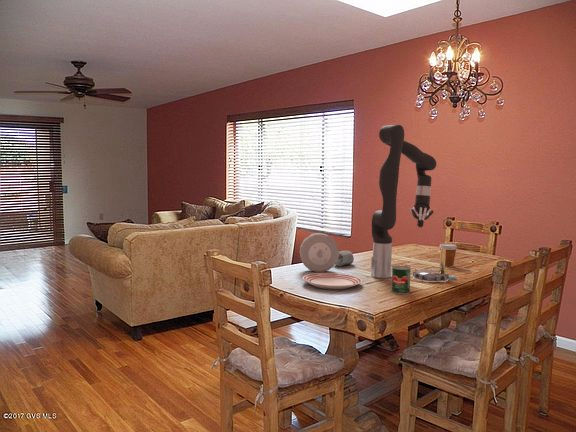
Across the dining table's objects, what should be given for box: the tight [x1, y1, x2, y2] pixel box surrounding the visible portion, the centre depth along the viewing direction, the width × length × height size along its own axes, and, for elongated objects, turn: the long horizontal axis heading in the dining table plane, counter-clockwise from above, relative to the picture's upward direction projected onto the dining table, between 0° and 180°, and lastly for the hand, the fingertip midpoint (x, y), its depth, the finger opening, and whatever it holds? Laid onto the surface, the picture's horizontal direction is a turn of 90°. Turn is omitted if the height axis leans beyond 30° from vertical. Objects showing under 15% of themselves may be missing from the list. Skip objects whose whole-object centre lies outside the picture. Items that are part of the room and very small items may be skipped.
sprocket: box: [412, 248, 450, 281], centre depth 228 cm, size 17×17×14 cm
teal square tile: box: [449, 275, 457, 280], centre depth 230 cm, size 3×3×1 cm
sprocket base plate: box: [412, 275, 450, 283], centre depth 229 cm, size 17×17×1 cm
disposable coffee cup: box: [438, 243, 458, 267], centre depth 261 cm, size 10×10×12 cm
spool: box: [334, 250, 355, 268], centre depth 259 cm, size 14×10×10 cm
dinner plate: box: [302, 272, 363, 290], centre depth 215 cm, size 27×27×3 cm
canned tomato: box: [391, 265, 412, 295], centre depth 203 cm, size 8×8×11 cm
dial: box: [299, 232, 340, 273], centre depth 242 cm, size 20×12×20 cm, turn 92°
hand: (420, 227), depth 246 cm, fingers closed
